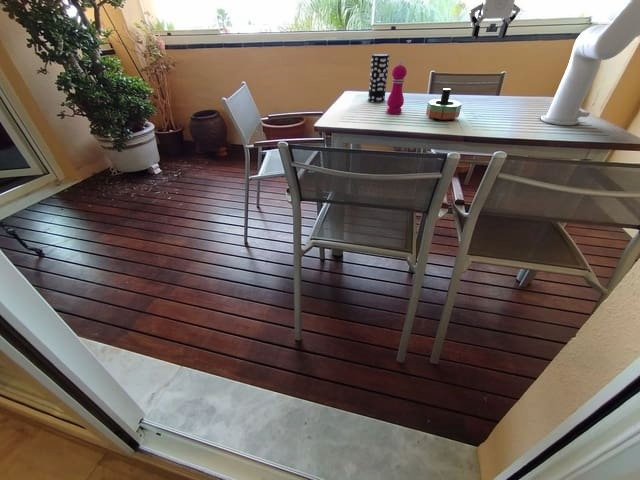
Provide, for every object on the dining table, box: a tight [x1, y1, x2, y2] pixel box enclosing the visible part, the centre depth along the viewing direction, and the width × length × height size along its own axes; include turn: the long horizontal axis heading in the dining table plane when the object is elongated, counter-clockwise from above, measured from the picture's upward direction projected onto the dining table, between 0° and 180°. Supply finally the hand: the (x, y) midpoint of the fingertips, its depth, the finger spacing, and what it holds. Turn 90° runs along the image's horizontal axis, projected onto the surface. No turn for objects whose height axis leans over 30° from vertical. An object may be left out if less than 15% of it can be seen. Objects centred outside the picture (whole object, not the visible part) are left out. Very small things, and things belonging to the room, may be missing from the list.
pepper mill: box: [386, 60, 408, 115], centre depth 127 cm, size 7×7×20 cm
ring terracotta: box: [425, 107, 461, 120], centre depth 125 cm, size 12×12×2 cm
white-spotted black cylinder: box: [367, 53, 390, 103], centre depth 146 cm, size 8×8×20 cm
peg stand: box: [430, 87, 455, 121], centre depth 123 cm, size 8×8×11 cm
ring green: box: [426, 99, 463, 113], centre depth 123 cm, size 12×12×2 cm
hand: (487, 38), depth 109 cm, fingers open, 9 cm apart
